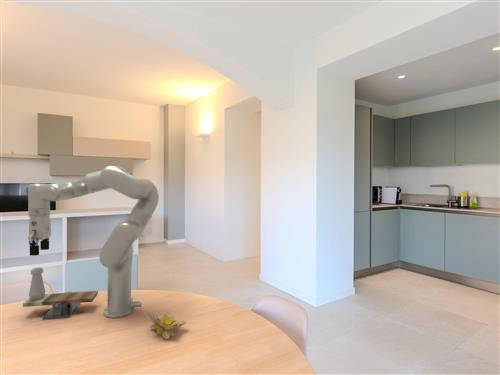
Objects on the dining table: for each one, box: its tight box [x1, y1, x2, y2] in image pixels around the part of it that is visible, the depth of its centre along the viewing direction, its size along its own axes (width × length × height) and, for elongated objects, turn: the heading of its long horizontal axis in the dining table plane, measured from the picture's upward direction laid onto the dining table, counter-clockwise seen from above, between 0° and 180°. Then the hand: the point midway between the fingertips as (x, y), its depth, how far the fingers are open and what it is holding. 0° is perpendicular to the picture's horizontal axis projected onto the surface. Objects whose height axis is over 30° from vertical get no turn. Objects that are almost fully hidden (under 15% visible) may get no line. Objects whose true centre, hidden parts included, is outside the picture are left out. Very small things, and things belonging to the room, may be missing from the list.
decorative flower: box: [146, 312, 188, 340], centre depth 113 cm, size 15×11×10 cm
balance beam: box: [22, 290, 99, 308], centre depth 129 cm, size 26×9×2 cm, turn 104°
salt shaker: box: [28, 267, 46, 300], centre depth 126 cm, size 6×6×13 cm
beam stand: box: [41, 291, 81, 321], centre depth 129 cm, size 10×14×6 cm
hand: (39, 252), depth 126 cm, fingers open, 9 cm apart
